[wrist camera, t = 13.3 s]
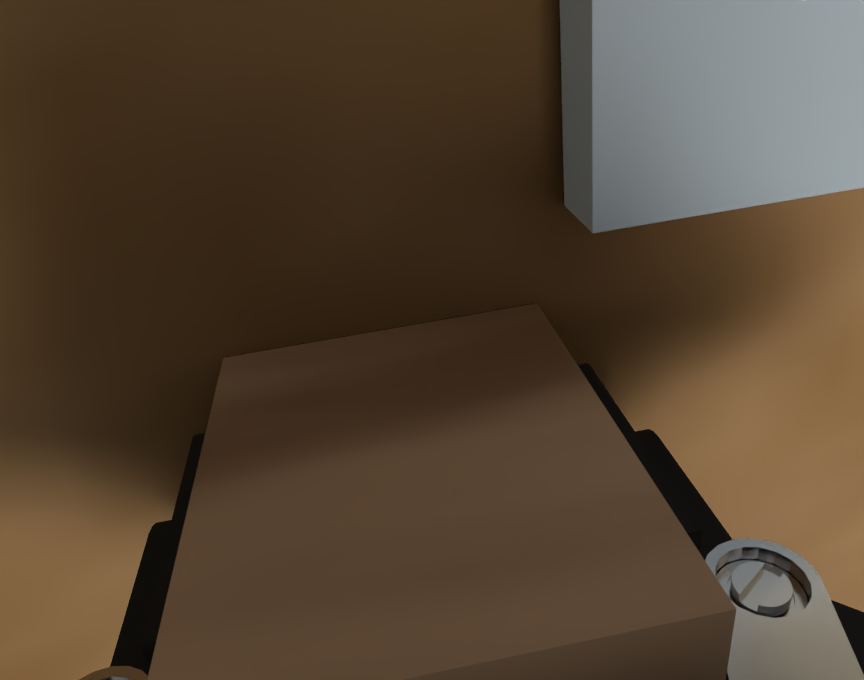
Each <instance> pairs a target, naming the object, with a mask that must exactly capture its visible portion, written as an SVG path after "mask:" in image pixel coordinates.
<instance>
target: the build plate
mask: <svg viewBox="0 0 864 680" xmlns="http://www.w3.org/2000/svg"><path fill="white" fill-rule="evenodd" d="M560 36H561V80H562V124H563V168H564V206H565V207H566V208H567V209H568V210H569V211H570V212H571V213H572V214H573V215H574V216H575V217H576V218H577V219H578V220H579V221H580V222H581V223H582V224H584V225H585V226H586V227H587V228H588V229H589V230H590V231H591V232H592V233H598V232H604V231H610V230H616V229H622V228H628V227H634V226H640V225H646V224H651V223H657V222H663V221H669V220H675V219H681V218H687V217H693V216H699V215H705V214H710V213H716V212H722V211H728V210H734V209H740V208H746V207H752V206H758V205H764V204H770V203H775V202H781V201H787V200H793V199H799V198H805V197H811V196H817V195H823V194H829V193H834V192H840V191H846V190H852V189H858V188H864V0H560Z"/></svg>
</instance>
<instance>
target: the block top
mask: <svg viewBox="0 0 864 680" xmlns="http://www.w3.org/2000/svg"><path fill="white" fill-rule="evenodd" d="M735 615H736V608H735V606H734V605H733V603H732V602H731V600H730V599H729V597H728V595H727V594H726V592H725V591H724V589H723V588H722V586H721V585H720V583H719V582H718V580H717V579H716V577H715V575H714V574H713V572H712V571H711V569H710V568H709V566H708V565H707V563H706V562H705V560H704V559H703V557H702V555H701V554H700V552H699V551H698V549H697V548H696V546H695V545H694V543H693V542H692V540H691V539H690V537H689V536H688V534H687V532H686V531H685V529H684V528H683V526H682V525H681V523H680V522H679V520H678V519H677V517H676V516H675V514H674V512H673V511H672V509H671V508H670V506H669V505H668V503H667V502H666V500H665V499H664V497H663V496H662V494H661V492H660V491H659V489H658V488H657V486H656V485H655V483H654V482H653V480H652V479H651V477H650V476H649V474H648V473H647V471H646V469H645V468H644V466H643V465H642V463H641V462H640V460H639V459H638V457H637V456H636V454H635V453H634V451H633V449H632V448H631V446H630V445H629V443H628V442H627V440H626V439H625V437H624V436H623V434H622V433H621V431H620V429H619V428H618V426H617V425H616V423H615V422H614V420H613V419H612V417H611V416H610V414H609V413H608V411H607V409H606V408H605V406H604V405H603V403H602V402H601V400H600V399H599V397H598V396H597V394H596V393H595V391H594V390H593V388H592V386H591V385H590V383H589V382H588V380H587V379H586V377H585V376H584V374H583V373H582V371H581V370H580V368H579V366H578V365H577V363H576V362H575V360H574V359H573V357H572V356H571V354H570V353H569V351H568V350H567V348H566V346H565V345H564V343H563V342H562V340H561V339H560V337H559V336H558V334H557V333H556V331H555V330H554V328H553V327H552V325H551V323H550V322H549V320H548V319H547V317H546V316H545V314H544V313H543V311H542V310H541V308H540V307H539V305H538V303H536V304H531V305H525V306H519V307H513V308H508V309H502V310H496V311H490V312H485V313H479V314H473V315H467V316H461V317H456V318H450V319H444V320H438V321H433V322H427V323H421V324H415V325H410V326H404V327H398V328H392V329H387V330H381V331H375V332H369V333H364V334H358V335H352V336H346V337H341V338H335V339H329V340H323V341H318V342H312V343H306V344H300V345H295V346H289V347H283V348H277V349H272V350H266V351H260V352H254V353H248V354H243V355H237V356H231V357H225V358H223V361H222V365H221V369H220V374H219V378H218V382H217V386H216V391H215V395H214V399H213V403H212V407H211V412H210V416H209V420H208V424H207V429H206V433H205V437H204V441H203V446H202V450H201V454H200V458H199V463H198V467H197V471H196V475H195V479H194V484H193V488H192V492H191V496H190V501H189V505H188V509H187V513H186V518H185V522H184V526H183V530H182V534H181V539H180V543H179V547H178V551H177V556H176V560H175V564H174V568H173V573H172V577H171V581H170V585H169V590H168V594H167V598H166V602H165V606H164V611H163V615H162V619H161V623H160V628H159V632H158V636H157V640H156V645H155V649H154V653H153V657H152V662H151V666H150V670H149V674H148V678H147V680H726V675H727V668H728V661H729V655H730V648H731V641H732V635H733V628H734V622H735Z"/></svg>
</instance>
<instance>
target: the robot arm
mask: <svg viewBox="0 0 864 680" xmlns="http://www.w3.org/2000/svg"><path fill="white" fill-rule="evenodd" d="M578 366H579V368H580V370H581V371H582V373H583V374H584V376H585V377H586V379H587V380H588V382H589V383H590V385H591V386H592V388H593V390H594V391H595V393H596V394H597V396H598V397H599V399H600V400H601V402H602V403H603V405H604V406H605V408H606V409H607V411H608V413H609V414H610V416H611V417H612V419H613V420H614V422H615V423H616V425H617V426H618V428H619V429H620V431H621V433H622V434H623V436H624V437H625V439H626V440H627V442H628V443H629V445H630V446H631V448H632V449H633V451H634V453H635V454H636V456H637V457H638V459H639V460H640V462H641V463H642V465H643V466H644V468H645V469H646V471H647V473H648V474H649V476H650V477H651V479H652V480H653V482H654V483H655V485H656V486H657V488H658V489H659V491H660V492H661V494H662V496H663V497H664V499H665V500H666V502H667V503H668V505H669V506H670V508H671V509H672V511H673V512H674V514H675V516H676V517H677V519H678V520H679V522H680V523H681V525H682V526H683V528H684V529H685V531H686V532H687V534H688V536H689V537H690V539H691V540H692V542H693V543H694V545H695V546H696V548H697V549H698V551H699V552H700V554H701V555H702V557H703V559H704V560H705V562H706V563H707V565H708V566H709V568H710V569H711V571H712V572H713V574H714V575H715V577H716V579H717V580H718V582H719V583H720V585H721V586H722V588H723V589H724V591H725V592H726V594H727V595H728V597H729V599H730V600H731V602H732V603H733V605H734V606H735V608H736V615H735V622H734V628H733V635H732V641H731V648H730V655H729V661H728V668H727V675H726V680H864V612H861V611H859V610H856V609H853V608H851V607H848V606H845V605H843V604H840V603H838V602H835V601H832V600H831V599H830V597H829V595H828V592H827V590H826V588H825V585H824V583H823V581H822V580H821V578H820V577H819V575H818V573H817V572H816V570H815V569H814V568H813V567H812V566H811V565H810V564H809V563H808V562H807V561H806V560H805V559H803V558H802V557H801V556H800V555H798V554H796V553H795V552H793V551H791V550H789V549H788V548H786V547H784V546H781V545H778V544H775V543H772V542H769V541H766V540H758V539H750V538H745V539H736V540H732V538H731V537H730V536H729V534H728V533H727V531H726V530H725V529H724V527H723V526H722V525H721V523H720V522H719V520H718V519H717V518H716V516H715V515H714V513H713V512H712V511H711V509H710V508H709V506H708V505H707V504H706V502H705V501H704V499H703V498H702V497H701V495H700V494H699V493H698V491H697V490H696V488H695V487H694V486H693V484H692V483H691V481H690V480H689V479H688V477H687V476H686V474H685V473H684V472H683V470H682V469H681V468H680V466H679V465H678V463H677V462H676V461H675V459H674V458H673V456H672V455H671V454H670V452H669V451H668V449H667V448H666V447H665V445H664V444H663V442H662V441H661V440H660V438H659V437H658V436H657V435H656V434H655V433H654V432H653V431H652V430H649V429H647V430H642V431H636V432H635V431H634V430H633V428H632V427H631V425H630V424H629V422H628V421H627V419H626V418H625V416H624V415H623V414H622V412H621V411H620V409H619V408H618V406H617V405H616V403H615V402H614V400H613V399H612V397H611V396H610V394H609V393H608V391H607V390H606V388H605V387H604V385H603V384H602V382H601V381H600V380H599V378H598V377H597V375H596V374H595V372H594V371H593V369H592V368H591V366H590V365H589V364H580V365H578ZM204 437H205V433H202V434H196V435H195V436H194V437H193V439H192V443H191V447H190V451H189V455H188V459H187V462H186V466H185V470H184V474H183V478H182V482H181V486H180V490H179V494H178V497H177V501H176V505H175V509H174V513H173V517H172V520H169V521H164V522H159V523H156V524H154V525H153V526H152V528H151V530H150V533H149V535H148V538H147V542H146V545H145V549H144V552H143V556H142V559H141V563H140V566H139V569H138V573H137V576H136V580H135V583H134V587H133V590H132V593H131V597H130V600H129V604H128V607H127V611H126V614H125V618H124V621H123V624H122V628H121V631H120V635H119V638H118V642H117V645H116V648H115V652H114V655H113V659H112V662H111V666H110V667H108V668H105V669H101V670H98V671H95V672H92V673H90V674H89V675H87V676H85V677H83V678H81V679H79V680H147V678H148V674H149V670H150V666H151V662H152V657H153V653H154V649H155V645H156V640H157V636H158V632H159V628H160V623H161V619H162V615H163V611H164V606H165V602H166V598H167V594H168V590H169V585H170V581H171V577H172V573H173V568H174V564H175V560H176V556H177V551H178V547H179V543H180V539H181V534H182V530H183V526H184V522H185V518H186V513H187V509H188V505H189V501H190V496H191V492H192V488H193V484H194V479H195V475H196V471H197V467H198V463H199V458H200V454H201V450H202V446H203V441H204Z"/></svg>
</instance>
